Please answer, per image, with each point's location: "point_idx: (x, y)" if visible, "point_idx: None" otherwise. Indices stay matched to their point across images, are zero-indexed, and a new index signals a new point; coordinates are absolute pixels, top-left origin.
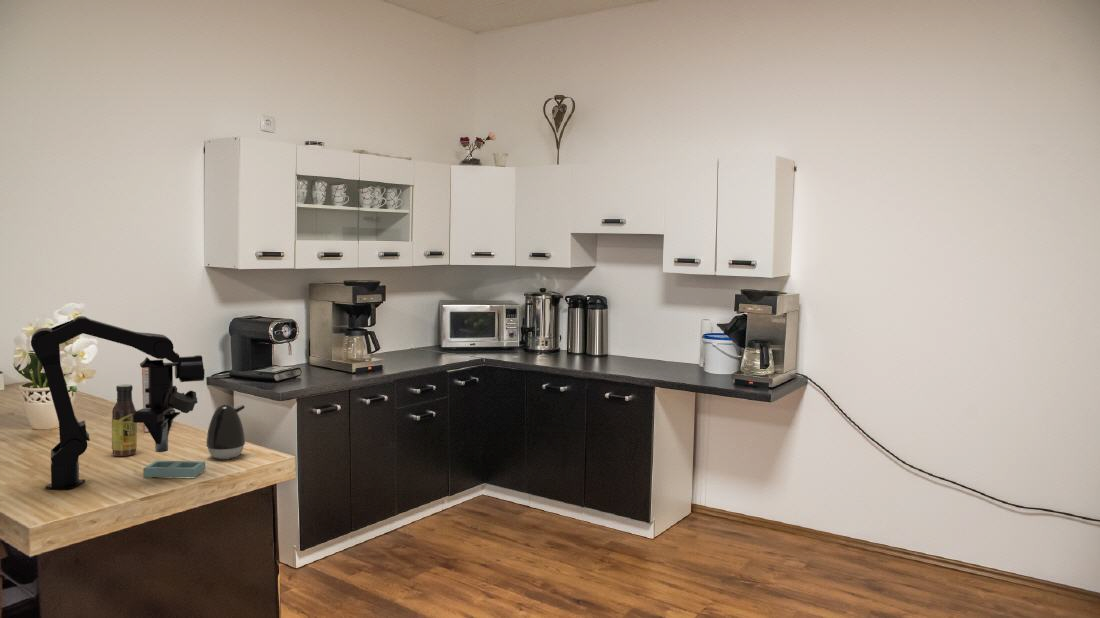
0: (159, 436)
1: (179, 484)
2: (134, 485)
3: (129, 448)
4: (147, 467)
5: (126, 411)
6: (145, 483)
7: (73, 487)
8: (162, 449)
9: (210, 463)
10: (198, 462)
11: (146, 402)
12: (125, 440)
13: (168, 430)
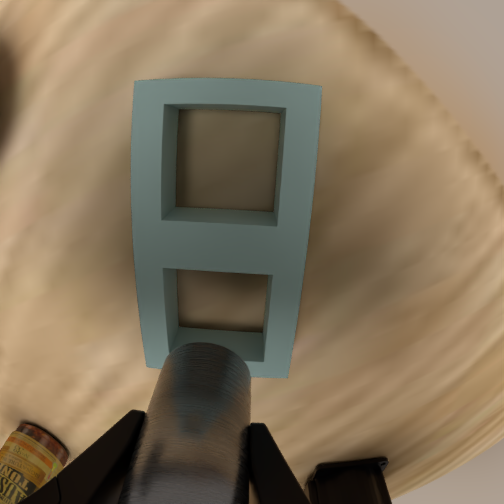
0: (294, 483)
1: (409, 145)
2: (392, 335)
3: (41, 448)
4: (275, 366)
5: None
6: (374, 307)
7: (379, 459)
8: (246, 376)
9: (35, 129)
10: (159, 112)
11: None
12: (40, 474)
13: (103, 473)
